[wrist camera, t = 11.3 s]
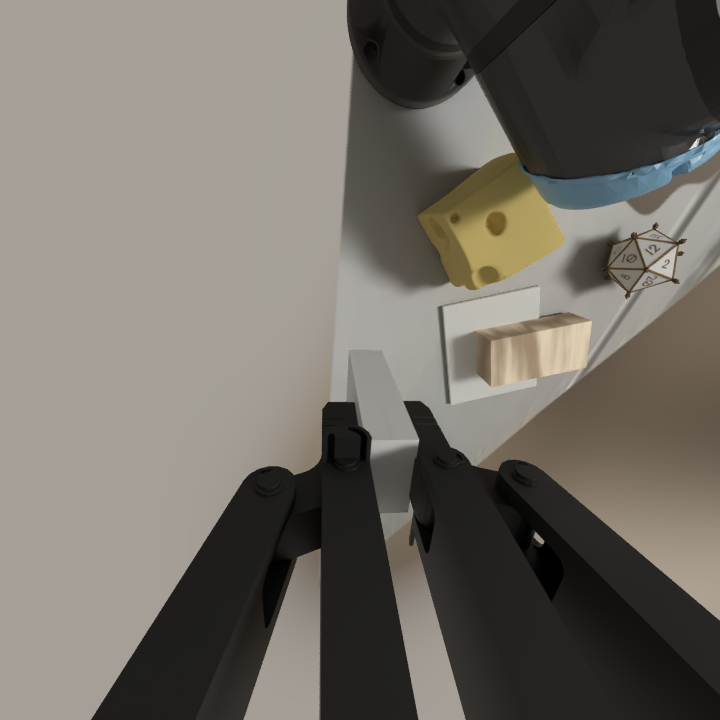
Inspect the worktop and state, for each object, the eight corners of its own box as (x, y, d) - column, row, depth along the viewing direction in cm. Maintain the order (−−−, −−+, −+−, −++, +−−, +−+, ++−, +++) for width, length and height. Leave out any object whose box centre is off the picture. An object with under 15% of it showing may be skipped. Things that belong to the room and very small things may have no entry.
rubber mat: (449, 402, 53) (451, 404, 52) (441, 305, 46) (443, 306, 46) (534, 384, 53) (536, 385, 53) (537, 285, 47) (540, 286, 46)
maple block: (491, 387, 46) (586, 367, 47) (490, 341, 44) (591, 320, 44) (476, 373, 51) (564, 355, 51) (475, 330, 48) (568, 312, 48)
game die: (605, 261, 51) (669, 300, 46) (569, 276, 48) (634, 321, 43) (648, 203, 44) (730, 242, 38) (609, 217, 41) (692, 262, 36)
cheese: (449, 284, 45) (483, 300, 36) (410, 212, 41) (437, 210, 32) (516, 238, 44) (569, 243, 35) (483, 160, 40) (533, 142, 31)
